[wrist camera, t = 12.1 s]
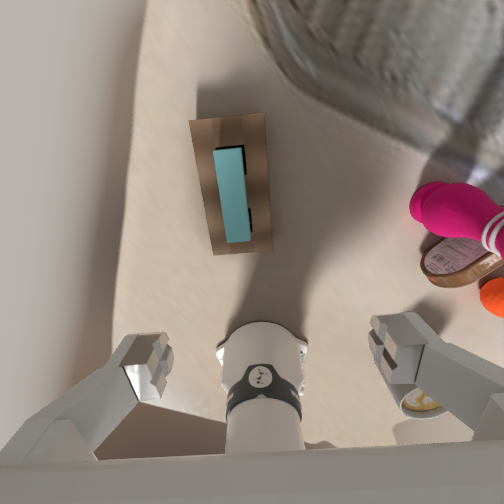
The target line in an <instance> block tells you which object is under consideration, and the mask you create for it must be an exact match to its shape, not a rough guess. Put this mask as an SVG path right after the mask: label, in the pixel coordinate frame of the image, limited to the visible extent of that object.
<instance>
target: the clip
mask: <svg viewBox="0 0 504 504" xmlns="http://www.w3.org/2000/svg"><path fill="white" fill-rule="evenodd" d="M213 155H214V162H215V168H216V174H217V181H218V187H219V194H220V200H221V207H222V213H223V220H224V226H225V233H226V239H227V243H233V242H244V241H250V233H251V232H250V223H249V214H248V204H247V195H246V186H245V176H244V167H243V157H242V148H241V147H240V148H230V149H221V150H215V151H213Z"/></svg>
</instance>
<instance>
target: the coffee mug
mask: <svg viewBox="0 0 504 504" xmlns="http://www.w3.org/2000/svg"><path fill="white" fill-rule="evenodd" d="M374 361H375V364H376V365H377V367H378V369H379V371H380V373H381V375H382V377H383V379H384V380H385V382H386V384H387V386H388V388H389V390H390V392H391V394H392V395H393V397H394V399H395V401H396V403H397V405H398V407H399V409H400V410H401V412H402V413H403V414H404V415H406V416H407V417H410V418H414V419H429V418H435V417H438V416H440V415H443V414H445V413H447V412H449V411H448V410H447V409H445V408H444V407H443V406H441V405H440V404H439V403H438V402H436V401H435V400H434V399H433V398H431V397H430V396H429V395H427V394H426V393H425V392H424V391H422V390H421V389H420V388H419V387H417V386H416V385H415V383H412V384H389V382H388V380H387V378H386V377H385V375H384V373H383V371H382V370H381V362H380V361H379V360H377V359H376V358H375V357H374Z"/></svg>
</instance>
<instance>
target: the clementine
mask: <svg viewBox="0 0 504 504" xmlns="http://www.w3.org/2000/svg"><path fill="white" fill-rule="evenodd" d="M480 300H481V302H482V304H483V306H484V307H485V308H486V309H487V310H488V311H489V312H491V313H492V314H494V315H496V316H498V317H502V318H504V277H501V278H495V279H492V280H490V281H488V282H487V283H486V284H485V285H484V286H483V287H482V288H481V290H480Z"/></svg>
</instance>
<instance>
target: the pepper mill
mask: <svg viewBox="0 0 504 504" xmlns="http://www.w3.org/2000/svg"><path fill="white" fill-rule="evenodd" d="M410 213H411V216H412V217H413V218H414V219H415V220H417V221H419V222H420V223H422V224H423V225H424V226H425V228H426V229H427V230H429V231H430V232H432V233H434V234H436V235H439V236H443V237H450V238H460V237H466V238H471V239H474V240H477V241H480V242H482V245H483V246H484V248H485V249H487V250H488V251H490V252H493V253H495V254H496V255H499V256H501V257H502V259H503V261H504V208H503V207H500V206H498V205H497V204H495V203H494V202H493V201H492V200H491V199H490V198H489V196H488V195H487V194H486V193H485V192H483V191H482V190H480V189H479V188H477V187H475V186H472V185H469V184H466V183H452V184H448V183H444V182H432V183H429V184H426V185H425V186H423V187H422V188H420V189H419V190H418V191H417V192H416V193H415V194H414V196H413V198H412V200H411V203H410Z"/></svg>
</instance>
